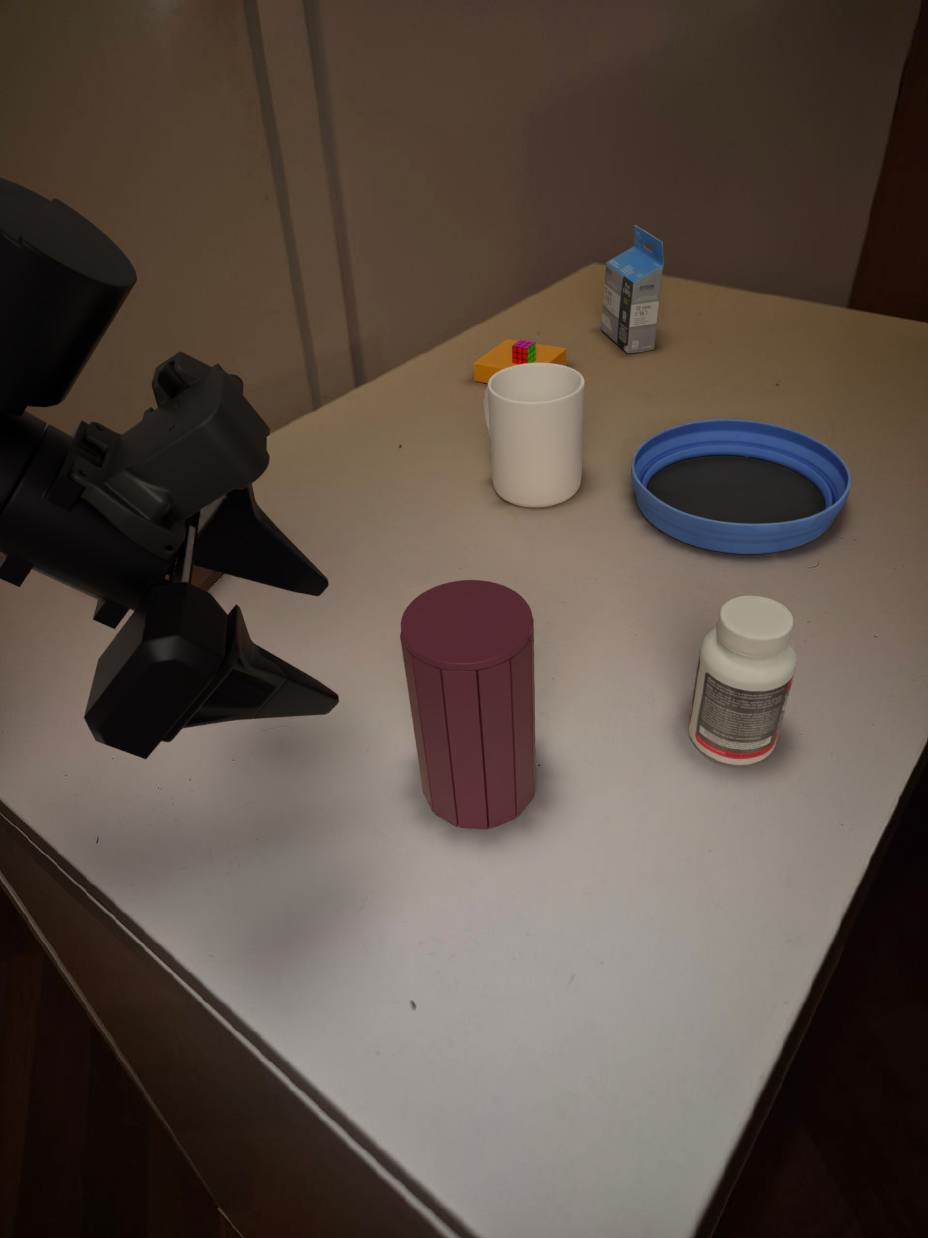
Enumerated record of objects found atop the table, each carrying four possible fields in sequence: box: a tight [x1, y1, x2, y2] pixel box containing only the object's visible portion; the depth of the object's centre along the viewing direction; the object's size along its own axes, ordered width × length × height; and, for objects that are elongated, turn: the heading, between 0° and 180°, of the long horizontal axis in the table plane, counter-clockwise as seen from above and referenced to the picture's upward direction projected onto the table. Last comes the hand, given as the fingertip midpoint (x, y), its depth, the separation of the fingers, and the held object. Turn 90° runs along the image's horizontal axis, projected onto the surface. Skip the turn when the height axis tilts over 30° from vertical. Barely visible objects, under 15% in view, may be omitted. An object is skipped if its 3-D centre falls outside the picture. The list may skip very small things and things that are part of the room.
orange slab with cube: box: [472, 338, 567, 384], centre depth 96 cm, size 8×8×4 cm
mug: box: [482, 363, 586, 509], centre depth 76 cm, size 12×8×10 cm
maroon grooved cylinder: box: [399, 579, 537, 830], centre depth 47 cm, size 7×7×13 cm
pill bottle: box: [688, 595, 798, 766], centre depth 50 cm, size 5×5×10 cm
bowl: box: [630, 418, 852, 555], centre depth 72 cm, size 18×18×4 cm
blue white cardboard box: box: [600, 224, 665, 354], centre depth 100 cm, size 9×4×12 cm, turn 14°
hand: (328, 642), depth 42 cm, fingers open, 9 cm apart
